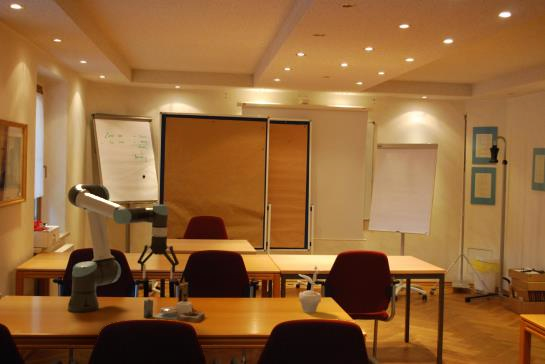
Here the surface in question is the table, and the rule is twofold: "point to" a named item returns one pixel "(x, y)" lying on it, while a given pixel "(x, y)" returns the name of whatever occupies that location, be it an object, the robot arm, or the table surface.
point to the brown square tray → (191, 316)
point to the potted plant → (310, 296)
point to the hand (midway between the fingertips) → (157, 278)
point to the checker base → (166, 316)
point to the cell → (148, 308)
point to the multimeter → (183, 290)
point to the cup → (184, 307)
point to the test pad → (169, 310)
